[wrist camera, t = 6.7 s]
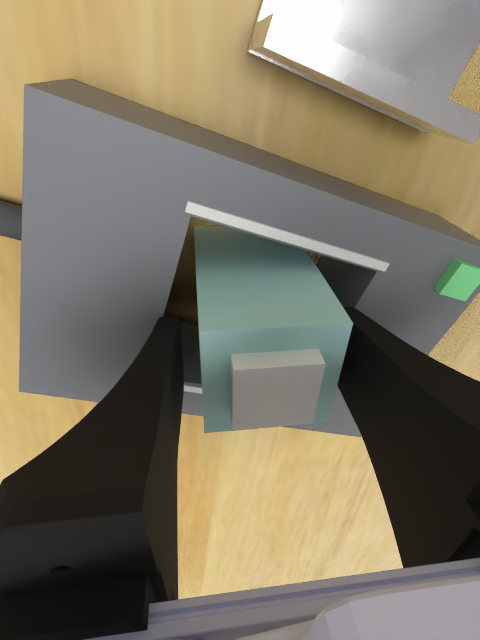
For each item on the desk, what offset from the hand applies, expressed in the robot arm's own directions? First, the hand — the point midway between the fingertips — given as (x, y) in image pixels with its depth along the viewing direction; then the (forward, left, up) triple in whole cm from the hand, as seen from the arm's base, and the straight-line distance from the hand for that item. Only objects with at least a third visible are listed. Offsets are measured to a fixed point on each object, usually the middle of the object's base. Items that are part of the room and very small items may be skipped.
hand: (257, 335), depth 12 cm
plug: (0, 0, -5) cm, 5 cm away
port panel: (0, 0, -4) cm, 4 cm away
